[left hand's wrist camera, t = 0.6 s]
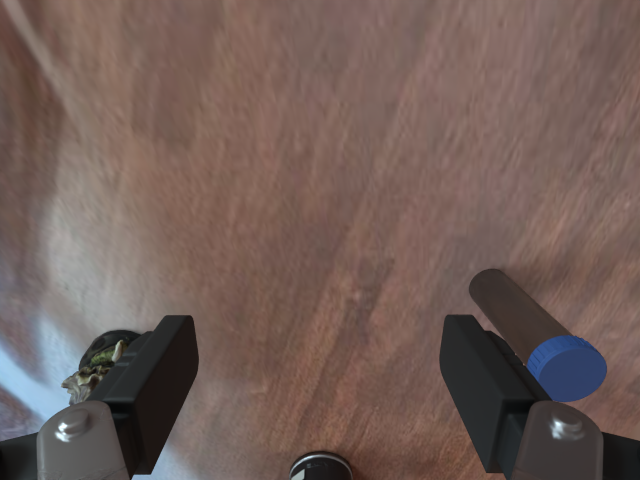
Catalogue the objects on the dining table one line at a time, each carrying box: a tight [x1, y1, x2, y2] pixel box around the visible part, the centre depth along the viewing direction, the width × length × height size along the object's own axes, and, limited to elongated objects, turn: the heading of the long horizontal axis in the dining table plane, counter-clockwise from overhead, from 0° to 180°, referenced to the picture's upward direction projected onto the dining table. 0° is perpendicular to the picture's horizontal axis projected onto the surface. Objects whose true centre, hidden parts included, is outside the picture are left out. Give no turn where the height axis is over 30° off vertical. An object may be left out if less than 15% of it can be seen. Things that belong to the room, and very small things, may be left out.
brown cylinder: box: [469, 269, 573, 367], centre depth 37 cm, size 5×5×15 cm
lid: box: [527, 335, 607, 402], centre depth 30 cm, size 6×6×2 cm
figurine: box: [61, 330, 141, 406], centre depth 41 cm, size 12×11×15 cm
